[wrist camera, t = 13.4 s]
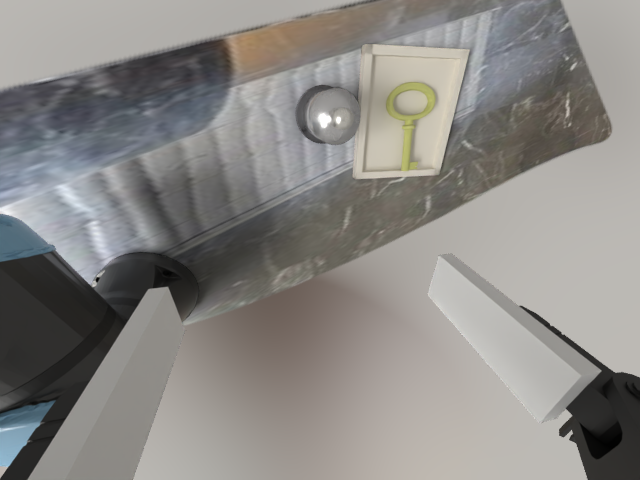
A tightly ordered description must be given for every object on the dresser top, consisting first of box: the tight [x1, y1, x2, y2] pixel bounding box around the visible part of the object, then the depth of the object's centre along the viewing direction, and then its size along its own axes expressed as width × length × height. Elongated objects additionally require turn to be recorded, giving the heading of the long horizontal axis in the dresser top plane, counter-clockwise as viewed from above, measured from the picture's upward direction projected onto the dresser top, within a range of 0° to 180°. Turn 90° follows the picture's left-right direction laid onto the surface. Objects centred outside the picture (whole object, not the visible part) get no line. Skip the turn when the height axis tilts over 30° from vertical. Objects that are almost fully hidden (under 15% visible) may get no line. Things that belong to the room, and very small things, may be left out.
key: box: [386, 82, 436, 171], centre depth 36 cm, size 7×12×2 cm, turn 21°
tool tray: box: [353, 44, 470, 179], centre depth 36 cm, size 15×17×2 cm
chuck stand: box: [296, 85, 361, 145], centre depth 29 cm, size 7×7×12 cm
